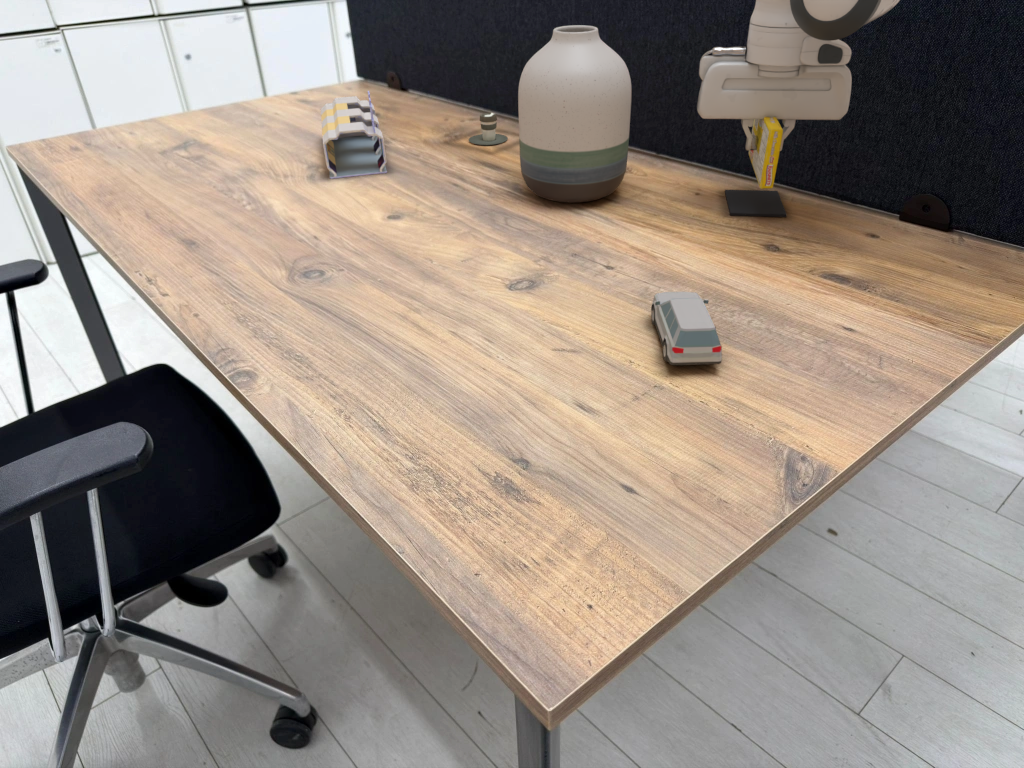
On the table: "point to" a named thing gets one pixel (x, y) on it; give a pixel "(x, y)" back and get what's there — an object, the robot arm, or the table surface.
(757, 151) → the candy box
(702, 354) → the toy car
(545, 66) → the vase
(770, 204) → the mat
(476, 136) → the striped post on disc
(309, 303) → the table surface
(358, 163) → the diorama
